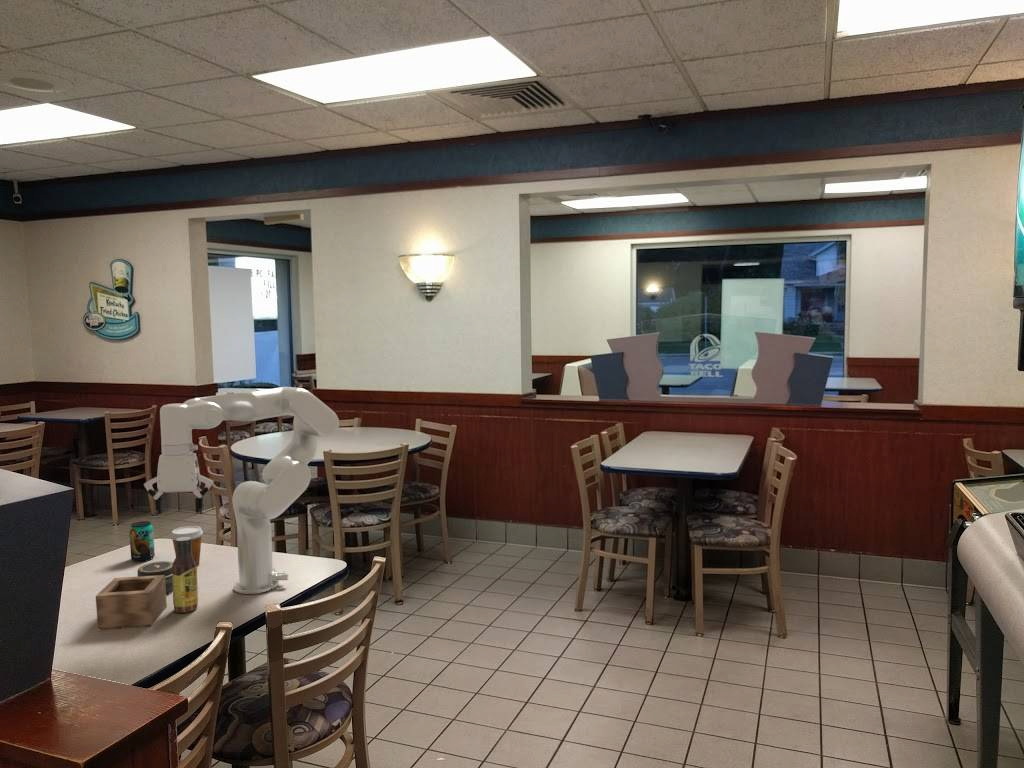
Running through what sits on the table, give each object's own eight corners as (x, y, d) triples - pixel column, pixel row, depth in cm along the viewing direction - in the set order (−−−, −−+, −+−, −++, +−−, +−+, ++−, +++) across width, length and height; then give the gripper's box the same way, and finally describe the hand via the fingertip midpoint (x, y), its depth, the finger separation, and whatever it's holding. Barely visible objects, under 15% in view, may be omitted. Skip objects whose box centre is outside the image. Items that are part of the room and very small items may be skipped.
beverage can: (126, 562, 242) (124, 526, 241) (140, 555, 249) (138, 520, 248) (145, 563, 241) (143, 527, 240) (159, 556, 248) (157, 521, 247)
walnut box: (166, 606, 206) (164, 575, 205) (151, 626, 193) (149, 592, 192) (116, 609, 204) (114, 577, 203) (97, 629, 191) (95, 596, 190)
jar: (158, 583, 223) (157, 559, 222) (184, 587, 220) (182, 562, 219) (130, 595, 214) (129, 570, 213) (157, 600, 210) (155, 574, 210)
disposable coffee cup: (197, 571, 233) (195, 534, 232) (166, 571, 233) (164, 534, 232) (209, 561, 243) (207, 525, 241) (180, 561, 243) (178, 525, 241)
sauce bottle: (189, 615, 200) (185, 543, 198) (168, 613, 201) (164, 542, 199) (203, 605, 206) (200, 535, 204) (183, 603, 208) (180, 534, 206)
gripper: (214, 446, 204) (216, 507, 206) (147, 448, 202) (150, 509, 203) (207, 451, 197) (210, 514, 198) (138, 453, 194) (141, 517, 196)
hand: (180, 512), depth 201 cm, fingers open, 9 cm apart
